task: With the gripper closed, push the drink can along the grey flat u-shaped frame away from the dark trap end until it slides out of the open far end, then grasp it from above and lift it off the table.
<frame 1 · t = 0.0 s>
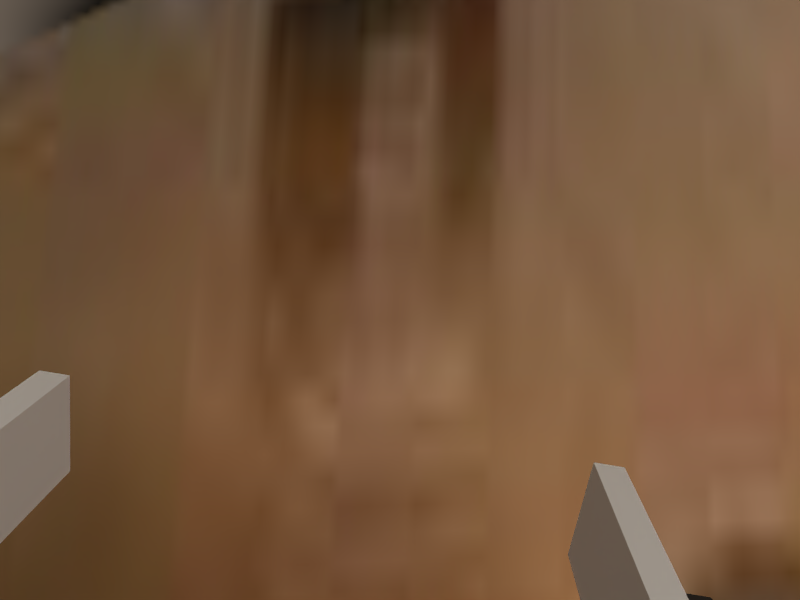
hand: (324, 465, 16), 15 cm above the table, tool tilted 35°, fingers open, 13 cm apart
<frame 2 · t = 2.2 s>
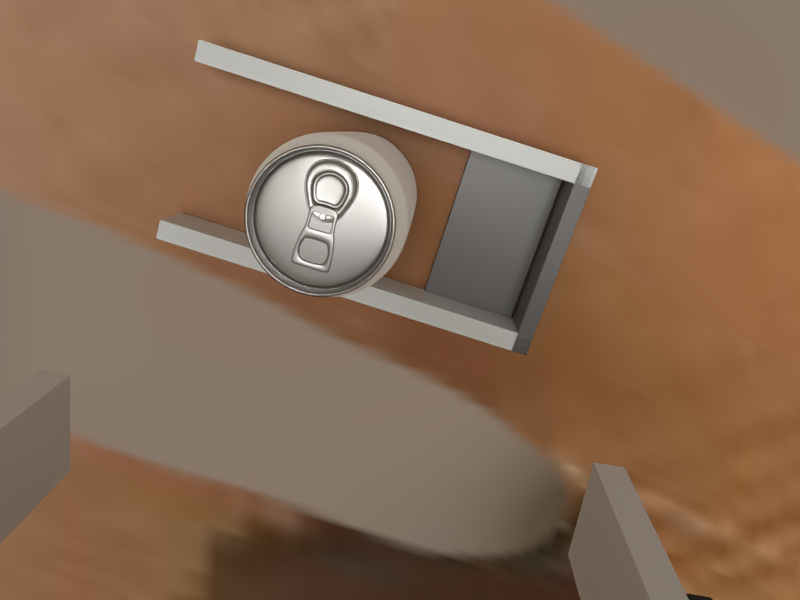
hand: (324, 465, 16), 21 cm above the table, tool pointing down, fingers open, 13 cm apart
grey flat u-shaped frame: (375, 198, 36), on the table
can: (358, 192, 36), resting in grey flat u-shaped frame
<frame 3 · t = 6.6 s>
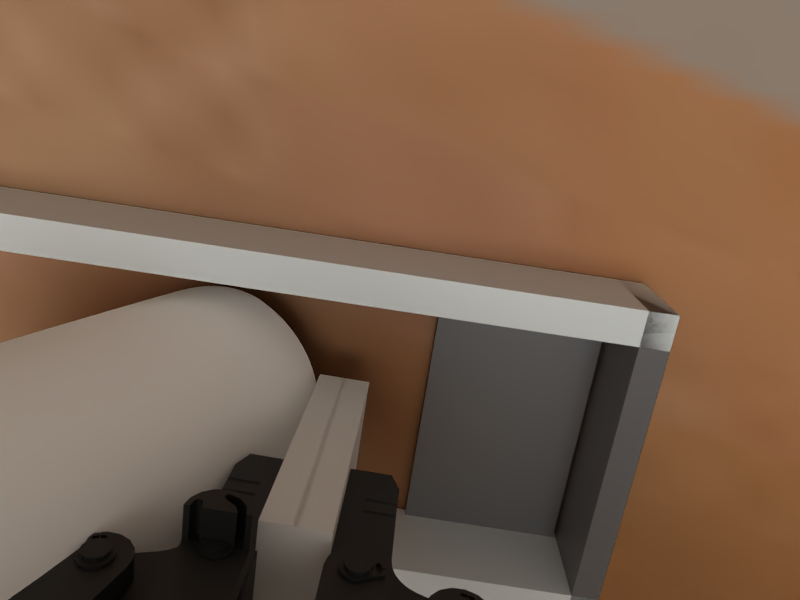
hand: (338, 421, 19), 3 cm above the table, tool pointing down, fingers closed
grey flat u-shaped frame: (297, 384, 21), on the table
can: (235, 382, 20), point 1 cm above the table, touching gripper, hand
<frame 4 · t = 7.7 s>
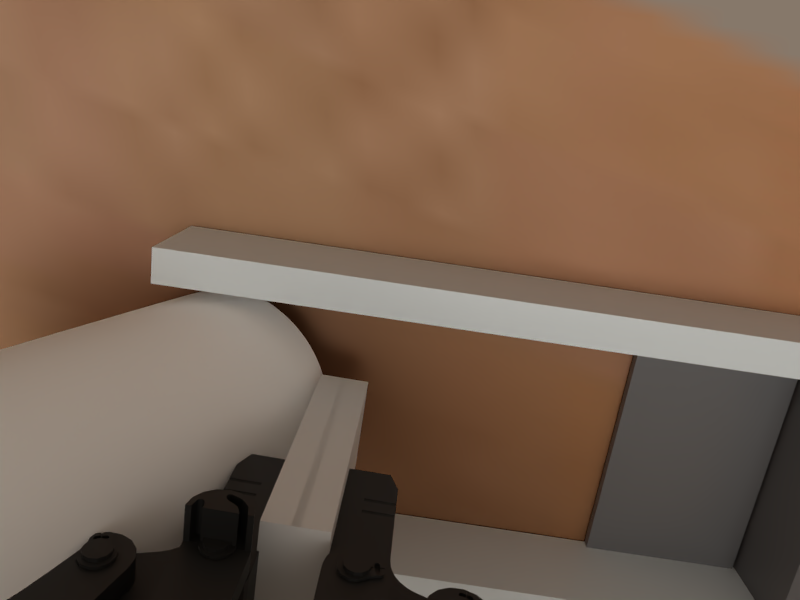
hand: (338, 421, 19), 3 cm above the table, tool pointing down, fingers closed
grey flat u-shaped frame: (487, 420, 22), on the table
can: (246, 385, 21), point 1 cm above the table, touching gripper, hand
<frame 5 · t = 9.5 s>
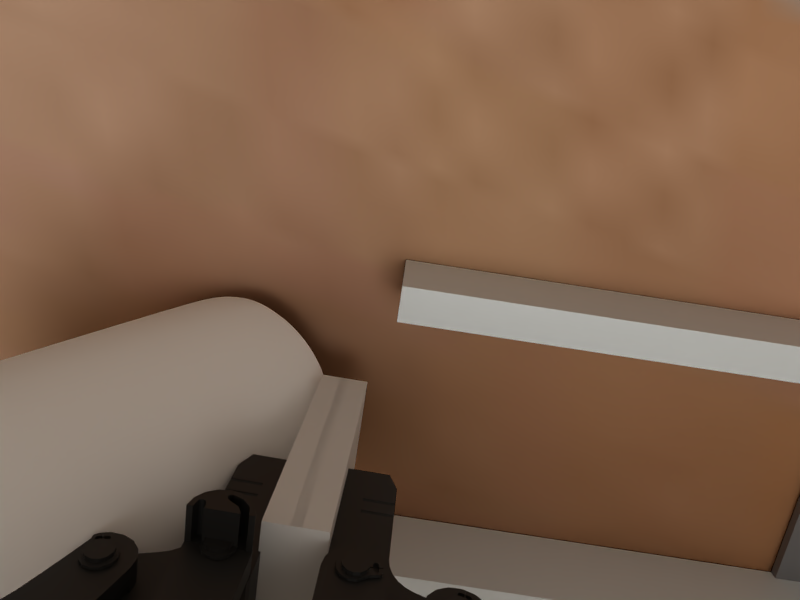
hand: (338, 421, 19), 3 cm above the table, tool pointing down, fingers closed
grey flat u-shaped frame: (685, 452, 22), on the table
can: (250, 392, 21), point 1 cm above the table, touching gripper, hand
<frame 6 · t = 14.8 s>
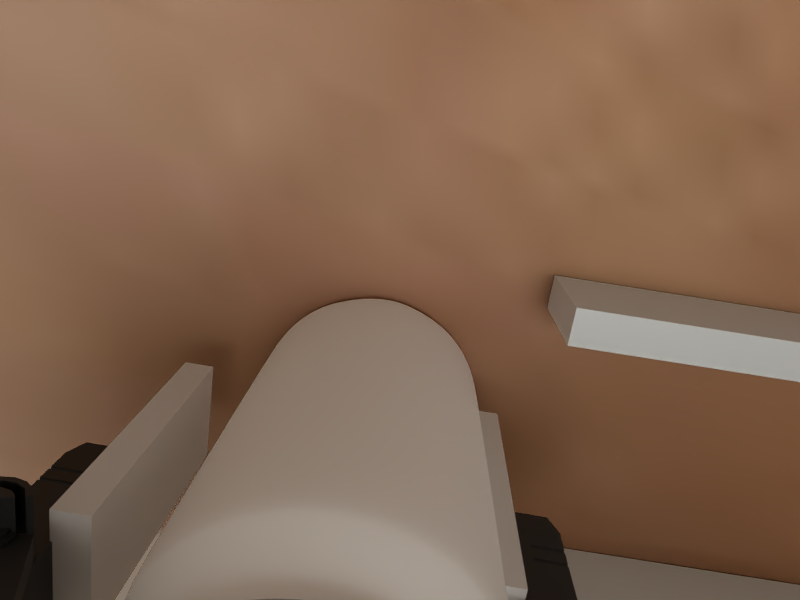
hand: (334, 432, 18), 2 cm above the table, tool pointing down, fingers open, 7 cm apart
can: (370, 390, 21), on the table, touching gripper
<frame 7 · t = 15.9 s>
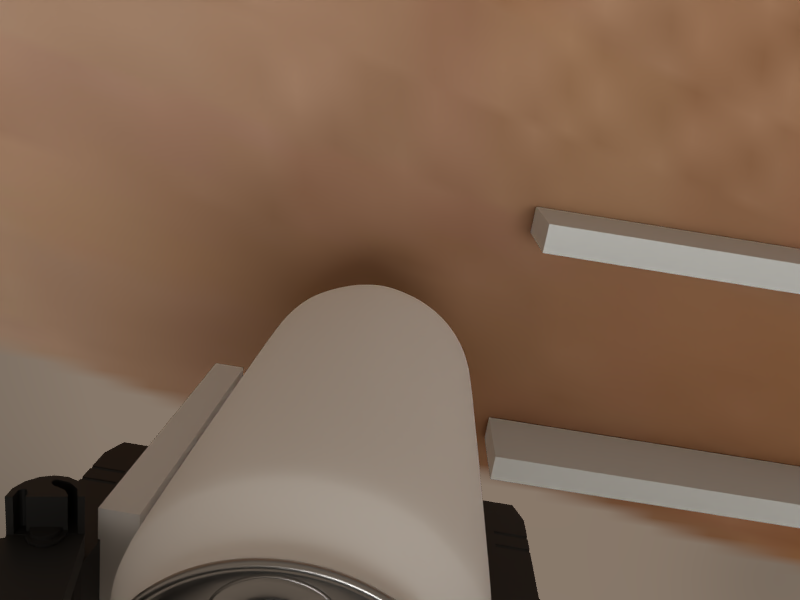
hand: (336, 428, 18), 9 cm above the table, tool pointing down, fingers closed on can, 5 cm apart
grey flat u-shaped frame: (756, 368, 26), on the table
can: (367, 375, 21), point 6 cm above the table, touching gripper
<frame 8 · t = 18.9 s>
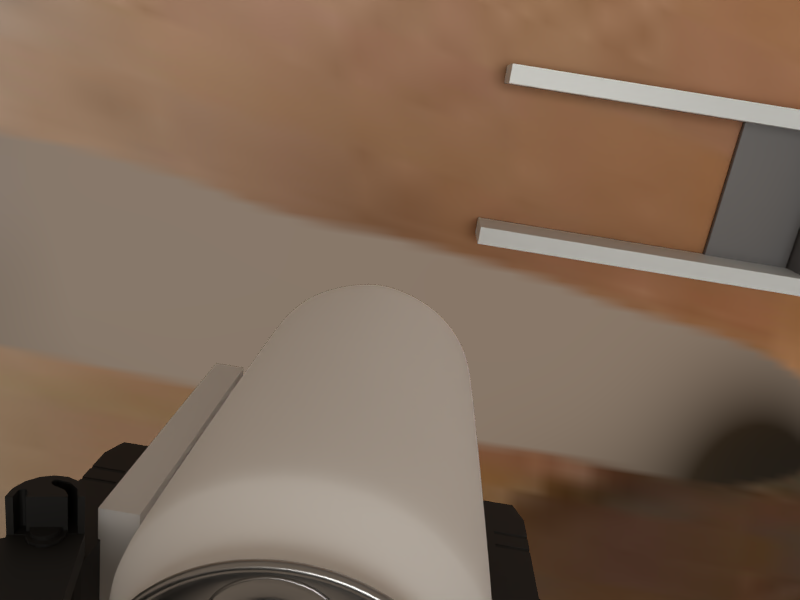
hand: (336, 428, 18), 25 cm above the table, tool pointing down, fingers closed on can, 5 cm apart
grey flat u-shaped frame: (655, 178, 40), on the table
can: (368, 375, 21), point 22 cm above the table, touching gripper
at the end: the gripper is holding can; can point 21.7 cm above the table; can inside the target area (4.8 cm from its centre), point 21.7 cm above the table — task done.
